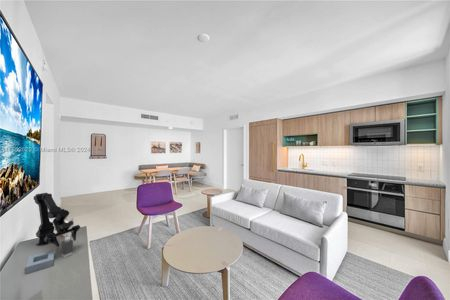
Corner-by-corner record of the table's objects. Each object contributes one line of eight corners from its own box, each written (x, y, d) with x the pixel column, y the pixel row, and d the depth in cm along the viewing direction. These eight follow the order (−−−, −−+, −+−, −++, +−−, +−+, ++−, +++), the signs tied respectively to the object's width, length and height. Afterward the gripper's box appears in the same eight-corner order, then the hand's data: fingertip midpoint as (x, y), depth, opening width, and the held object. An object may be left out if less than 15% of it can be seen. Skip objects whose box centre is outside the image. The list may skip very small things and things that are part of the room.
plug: (61, 255, 121) (61, 237, 121) (69, 252, 125) (69, 234, 125) (64, 257, 119) (65, 239, 119) (72, 253, 123) (73, 236, 123)
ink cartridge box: (58, 236, 146) (59, 219, 146) (64, 233, 151) (65, 217, 151) (67, 237, 145) (68, 219, 145) (73, 234, 150) (74, 217, 150)
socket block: (28, 262, 112) (28, 256, 112) (53, 255, 121) (54, 249, 121) (24, 274, 102) (24, 267, 102) (53, 265, 110) (53, 259, 110)
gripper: (46, 222, 116) (54, 243, 111) (79, 214, 133) (87, 231, 128) (40, 232, 119) (47, 252, 115) (73, 222, 136) (80, 239, 132)
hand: (67, 243), depth 122 cm, fingers open, 9 cm apart
